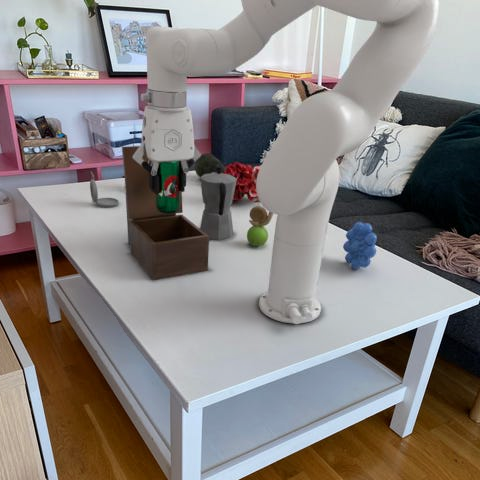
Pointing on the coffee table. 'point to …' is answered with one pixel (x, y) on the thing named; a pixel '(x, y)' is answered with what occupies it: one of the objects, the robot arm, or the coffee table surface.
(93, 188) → the pocket watch
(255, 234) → the snail figurine
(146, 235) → the chest
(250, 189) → the carnation
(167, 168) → the soda can
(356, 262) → the grapes
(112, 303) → the coffee table surface
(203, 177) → the coffeepot
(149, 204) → the lid
